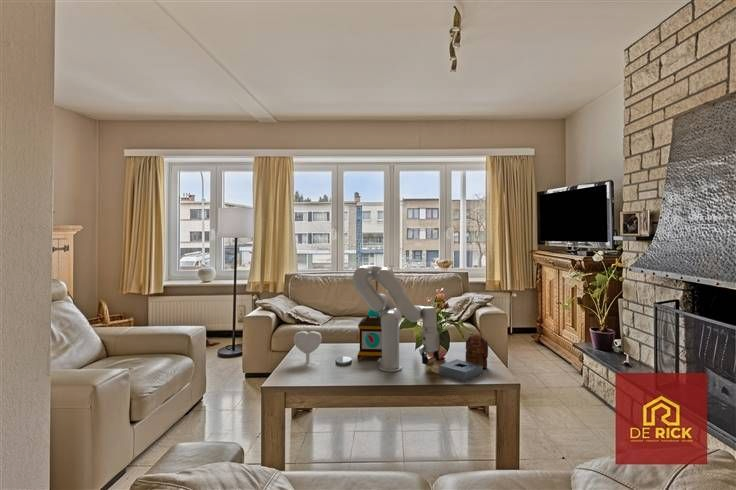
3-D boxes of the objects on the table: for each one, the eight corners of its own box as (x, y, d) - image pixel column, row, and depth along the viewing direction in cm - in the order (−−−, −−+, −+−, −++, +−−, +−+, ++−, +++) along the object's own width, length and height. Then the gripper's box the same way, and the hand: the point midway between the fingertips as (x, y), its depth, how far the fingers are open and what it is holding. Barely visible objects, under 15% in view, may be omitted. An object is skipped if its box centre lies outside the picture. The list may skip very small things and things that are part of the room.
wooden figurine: (465, 368, 229) (465, 335, 229) (465, 365, 235) (465, 333, 235) (488, 370, 227) (488, 336, 227) (487, 366, 233) (487, 334, 233)
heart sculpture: (293, 364, 238) (293, 332, 238) (295, 361, 243) (295, 330, 243) (320, 364, 237) (320, 332, 237) (322, 362, 242) (322, 330, 242)
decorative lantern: (391, 353, 261) (391, 305, 260) (389, 362, 241) (389, 310, 241) (359, 352, 263) (358, 304, 262) (354, 361, 243) (354, 309, 243)
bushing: (420, 371, 225) (420, 357, 224) (428, 368, 229) (428, 355, 229) (430, 374, 220) (430, 360, 220) (438, 371, 224) (438, 357, 224)
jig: (439, 374, 219) (439, 365, 219) (456, 368, 230) (456, 359, 230) (465, 382, 207) (465, 372, 207) (482, 375, 218) (482, 365, 218)
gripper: (425, 333, 215) (426, 366, 216) (445, 328, 228) (446, 359, 228) (413, 331, 221) (414, 364, 221) (433, 326, 233) (434, 357, 233)
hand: (430, 361), depth 224 cm, fingers open, 9 cm apart
